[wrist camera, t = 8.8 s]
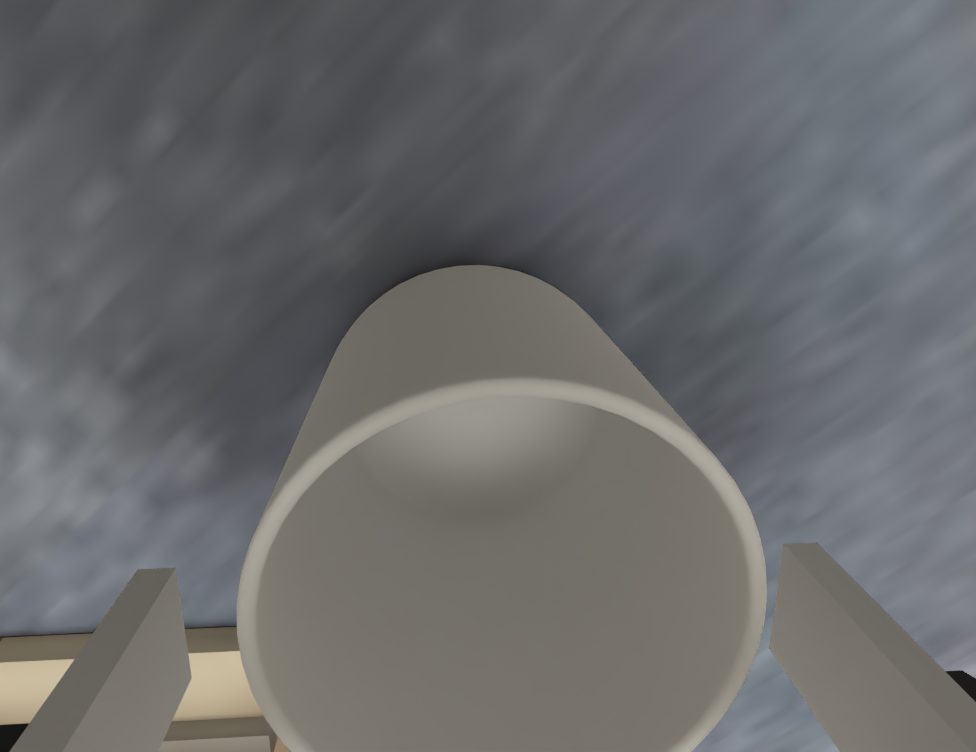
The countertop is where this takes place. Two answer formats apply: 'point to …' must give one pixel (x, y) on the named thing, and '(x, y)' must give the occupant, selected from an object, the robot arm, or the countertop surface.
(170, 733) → the subfloor panel
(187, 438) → the countertop surface
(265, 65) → the countertop surface
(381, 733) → the mug
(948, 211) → the countertop surface
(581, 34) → the countertop surface
